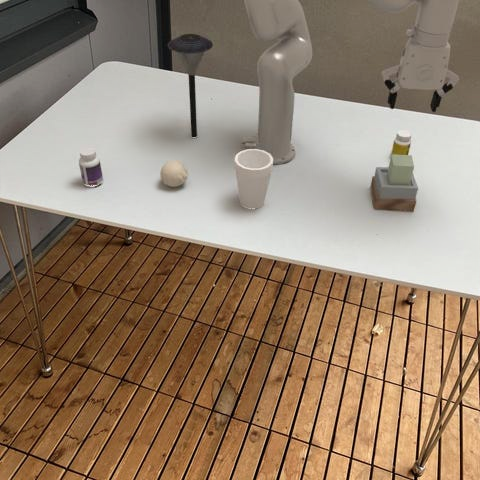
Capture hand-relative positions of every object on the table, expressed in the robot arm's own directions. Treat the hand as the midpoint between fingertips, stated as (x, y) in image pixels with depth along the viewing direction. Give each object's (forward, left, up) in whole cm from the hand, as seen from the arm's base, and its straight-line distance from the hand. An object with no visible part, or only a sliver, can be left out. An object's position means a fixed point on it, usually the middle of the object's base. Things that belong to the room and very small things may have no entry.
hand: (412, 107), depth 135 cm
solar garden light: (-56, +25, -26) cm, 66 cm away
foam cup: (-37, -6, -26) cm, 45 cm away
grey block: (0, -2, -22) cm, 22 cm away
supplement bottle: (+4, +18, -26) cm, 32 cm away
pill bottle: (-80, -1, -26) cm, 84 cm away
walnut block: (0, -2, -26) cm, 26 cm away
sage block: (0, -2, -19) cm, 19 cm away
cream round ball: (-58, 0, -26) cm, 63 cm away
